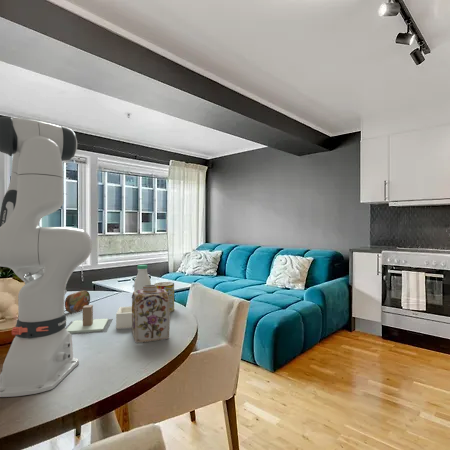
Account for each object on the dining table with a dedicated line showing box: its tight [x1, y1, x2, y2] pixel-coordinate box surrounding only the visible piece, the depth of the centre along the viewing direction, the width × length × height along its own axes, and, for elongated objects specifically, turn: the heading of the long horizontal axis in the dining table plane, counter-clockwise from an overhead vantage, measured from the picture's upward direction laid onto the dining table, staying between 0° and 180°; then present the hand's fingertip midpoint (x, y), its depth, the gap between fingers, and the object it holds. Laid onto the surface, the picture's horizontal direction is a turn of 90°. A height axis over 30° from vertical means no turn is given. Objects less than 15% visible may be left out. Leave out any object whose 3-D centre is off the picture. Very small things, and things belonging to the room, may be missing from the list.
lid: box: [66, 304, 109, 333], centre depth 122 cm, size 13×13×8 cm
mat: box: [65, 318, 113, 336], centre depth 122 cm, size 16×16×1 cm
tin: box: [64, 290, 91, 314], centre depth 147 cm, size 15×3×8 cm, turn 168°
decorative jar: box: [131, 284, 171, 344], centre depth 113 cm, size 12×12×18 cm
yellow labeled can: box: [153, 281, 175, 313], centre depth 147 cm, size 9×9×12 cm
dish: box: [115, 305, 132, 330], centre depth 125 cm, size 10×10×6 cm
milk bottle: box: [133, 264, 152, 292], centre depth 151 cm, size 8×8×20 cm
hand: (61, 296), depth 120 cm, fingers open, 8 cm apart
